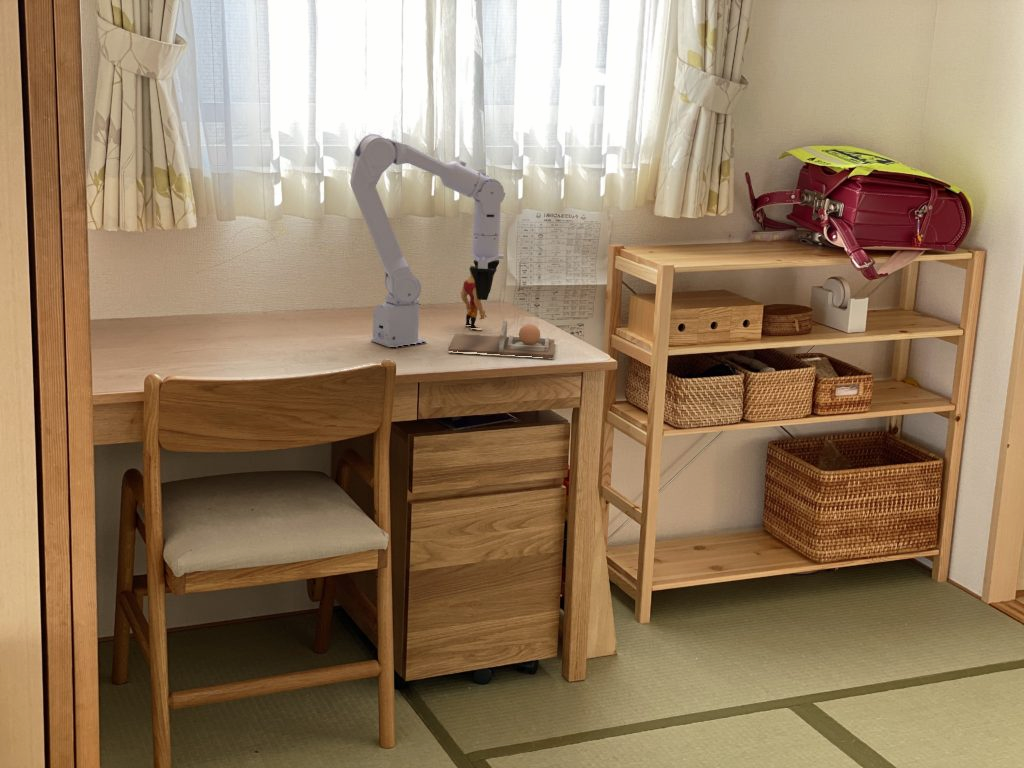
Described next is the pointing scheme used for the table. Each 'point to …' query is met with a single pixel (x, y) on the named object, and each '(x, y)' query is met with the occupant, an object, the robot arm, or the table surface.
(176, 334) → the table surface
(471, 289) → the action figure
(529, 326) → the ball
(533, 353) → the board
